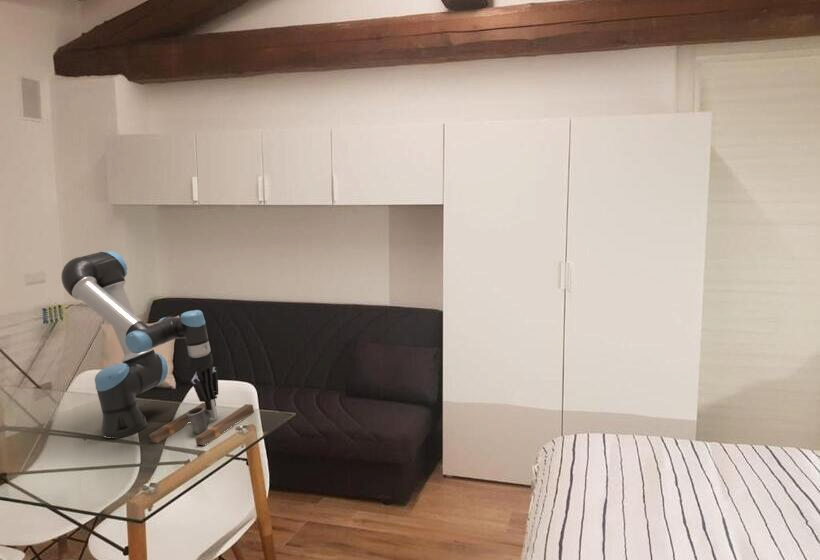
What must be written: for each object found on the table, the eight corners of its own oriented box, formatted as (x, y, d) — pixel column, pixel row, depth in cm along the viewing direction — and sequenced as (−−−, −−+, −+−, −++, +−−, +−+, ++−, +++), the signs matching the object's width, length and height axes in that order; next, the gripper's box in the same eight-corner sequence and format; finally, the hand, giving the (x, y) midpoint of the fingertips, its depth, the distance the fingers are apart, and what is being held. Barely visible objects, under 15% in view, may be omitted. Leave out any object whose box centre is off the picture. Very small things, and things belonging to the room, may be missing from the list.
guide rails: (151, 442, 225) (149, 434, 224) (204, 410, 249) (202, 402, 248) (204, 446, 215) (202, 437, 215) (254, 412, 240) (252, 404, 239)
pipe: (215, 420, 237) (210, 399, 235) (205, 435, 224) (201, 413, 223) (198, 422, 237) (193, 402, 235) (187, 438, 224) (183, 416, 223)
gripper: (196, 360, 225) (209, 425, 230) (220, 348, 237) (233, 409, 241) (179, 360, 228) (192, 424, 233) (203, 348, 240) (216, 409, 244)
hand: (213, 417), depth 237 cm, fingers closed
